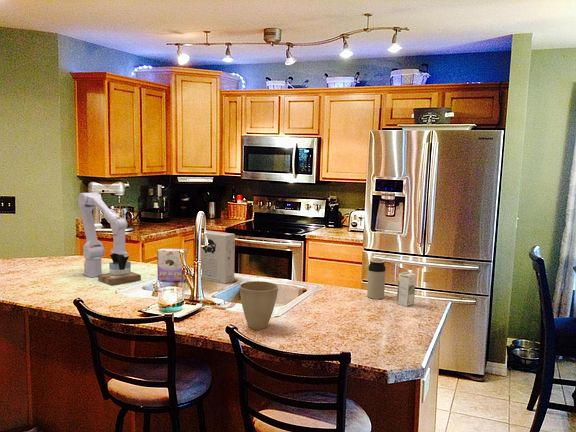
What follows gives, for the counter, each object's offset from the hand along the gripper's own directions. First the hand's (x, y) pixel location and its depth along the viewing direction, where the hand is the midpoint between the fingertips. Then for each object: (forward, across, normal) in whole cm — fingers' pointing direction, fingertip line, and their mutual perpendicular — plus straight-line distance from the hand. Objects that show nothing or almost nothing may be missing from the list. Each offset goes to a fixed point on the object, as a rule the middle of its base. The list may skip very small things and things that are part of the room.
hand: (119, 268), depth 260 cm
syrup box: (+6, +123, +73) cm, 143 cm away
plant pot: (+6, +99, +3) cm, 99 cm away
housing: (+3, 0, 0) cm, 3 cm away
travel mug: (+6, +107, +73) cm, 130 cm away
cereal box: (+6, +29, +38) cm, 48 cm away
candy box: (+6, +17, +20) cm, 27 cm away
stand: (+6, 0, 0) cm, 6 cm away
